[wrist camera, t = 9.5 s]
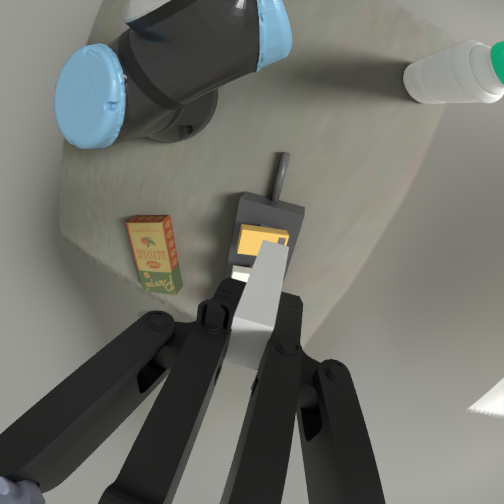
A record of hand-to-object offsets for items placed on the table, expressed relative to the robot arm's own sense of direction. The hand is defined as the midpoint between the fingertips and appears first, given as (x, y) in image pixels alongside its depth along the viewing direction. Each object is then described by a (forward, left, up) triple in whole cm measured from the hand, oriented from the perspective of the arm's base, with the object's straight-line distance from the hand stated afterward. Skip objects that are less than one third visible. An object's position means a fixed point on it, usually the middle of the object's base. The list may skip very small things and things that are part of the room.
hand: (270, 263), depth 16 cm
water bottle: (+16, +21, -30) cm, 40 cm away
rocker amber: (-2, -10, -23) cm, 26 cm away
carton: (-22, -22, -30) cm, 43 cm away
